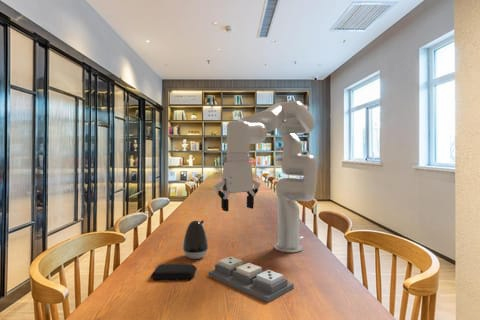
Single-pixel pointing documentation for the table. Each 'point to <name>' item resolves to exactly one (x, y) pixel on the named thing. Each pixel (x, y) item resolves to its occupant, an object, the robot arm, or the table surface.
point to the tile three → (270, 277)
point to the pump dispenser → (195, 241)
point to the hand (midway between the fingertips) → (237, 209)
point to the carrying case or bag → (174, 272)
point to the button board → (250, 283)
